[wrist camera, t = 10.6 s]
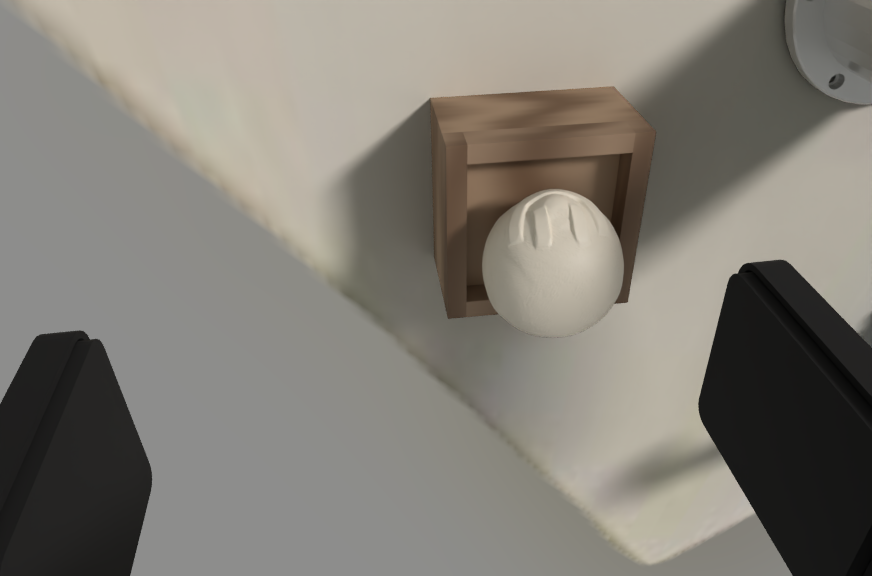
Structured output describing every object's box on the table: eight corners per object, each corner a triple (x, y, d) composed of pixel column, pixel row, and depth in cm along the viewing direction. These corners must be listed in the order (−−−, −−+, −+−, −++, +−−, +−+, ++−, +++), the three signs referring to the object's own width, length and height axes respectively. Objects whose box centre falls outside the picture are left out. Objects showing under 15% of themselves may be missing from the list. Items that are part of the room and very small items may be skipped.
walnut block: (611, 84, 39) (656, 131, 34) (592, 241, 45) (627, 302, 40) (429, 96, 38) (446, 146, 33) (433, 254, 44) (448, 318, 39)
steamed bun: (610, 154, 35) (652, 236, 30) (597, 269, 40) (631, 357, 35) (472, 167, 35) (491, 251, 30) (475, 281, 40) (492, 370, 35)
